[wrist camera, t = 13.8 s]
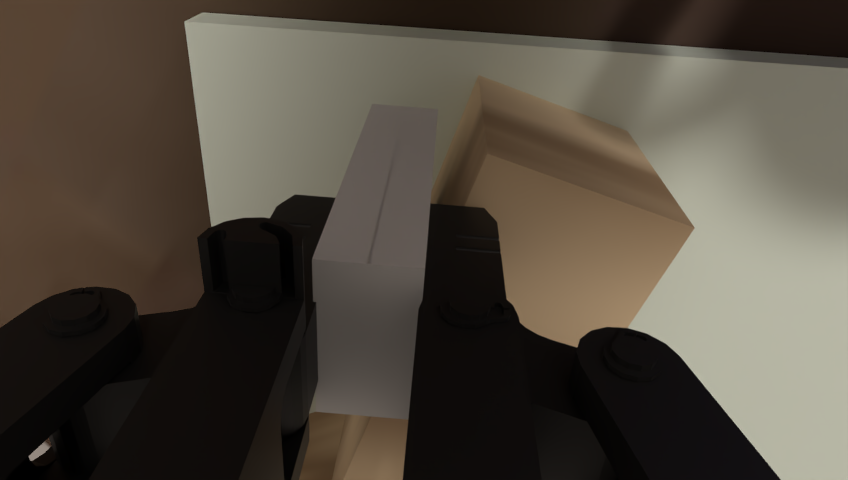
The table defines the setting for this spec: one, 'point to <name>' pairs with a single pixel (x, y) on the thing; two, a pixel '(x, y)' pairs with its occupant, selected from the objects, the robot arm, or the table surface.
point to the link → (535, 242)
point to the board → (655, 136)
